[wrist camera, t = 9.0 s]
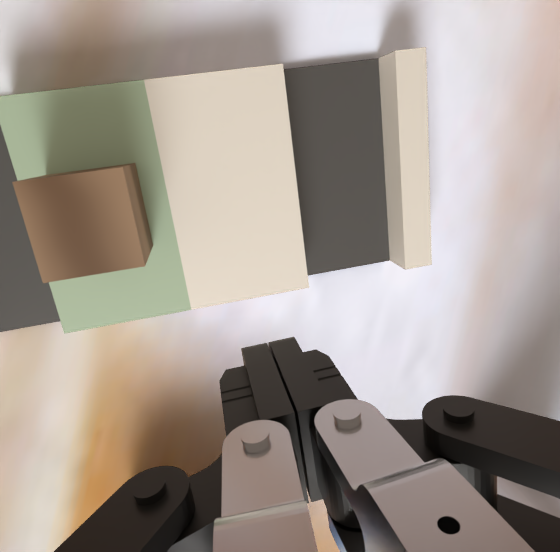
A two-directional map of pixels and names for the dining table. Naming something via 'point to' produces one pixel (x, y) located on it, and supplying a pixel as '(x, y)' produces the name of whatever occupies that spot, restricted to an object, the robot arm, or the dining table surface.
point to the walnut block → (85, 221)
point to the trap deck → (226, 183)
